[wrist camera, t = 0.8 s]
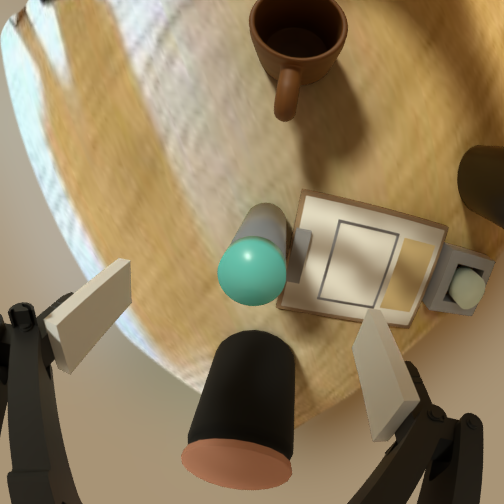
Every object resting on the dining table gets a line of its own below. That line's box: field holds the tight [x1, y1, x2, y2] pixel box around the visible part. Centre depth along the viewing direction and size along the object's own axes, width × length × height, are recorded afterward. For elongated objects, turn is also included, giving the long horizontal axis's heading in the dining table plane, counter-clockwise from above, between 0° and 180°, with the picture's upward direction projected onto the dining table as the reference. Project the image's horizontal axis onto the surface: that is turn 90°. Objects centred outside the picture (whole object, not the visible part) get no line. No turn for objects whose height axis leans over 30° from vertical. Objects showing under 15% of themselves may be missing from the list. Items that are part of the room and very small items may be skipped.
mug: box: [249, 0, 348, 122], centre depth 21 cm, size 12×8×9 cm, turn 171°
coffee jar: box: [181, 330, 295, 490], centre depth 30 cm, size 11×11×18 cm
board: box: [276, 189, 449, 328], centre depth 31 cm, size 14×18×2 cm
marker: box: [218, 203, 286, 306], centre depth 25 cm, size 4×4×14 cm
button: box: [448, 266, 485, 309], centre depth 28 cm, size 4×4×3 cm
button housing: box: [422, 242, 495, 316], centre depth 30 cm, size 8×8×2 cm
